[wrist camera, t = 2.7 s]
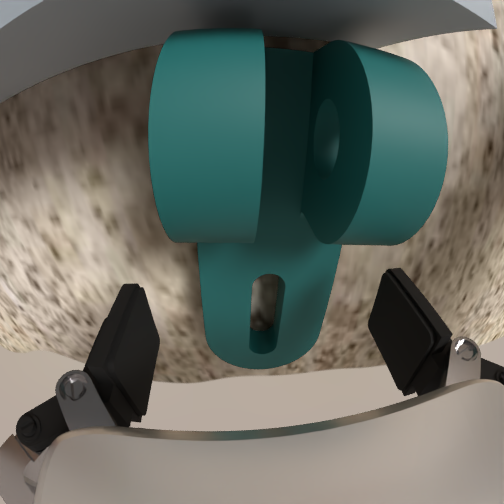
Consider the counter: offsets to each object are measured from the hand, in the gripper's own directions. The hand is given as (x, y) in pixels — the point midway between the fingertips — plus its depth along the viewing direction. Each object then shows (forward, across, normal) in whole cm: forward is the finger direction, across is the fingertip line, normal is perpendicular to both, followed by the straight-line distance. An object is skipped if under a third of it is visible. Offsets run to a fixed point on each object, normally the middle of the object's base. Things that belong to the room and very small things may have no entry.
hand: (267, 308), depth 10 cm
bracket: (+6, -1, -1) cm, 6 cm away
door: (+5, +6, -11) cm, 13 cm away
